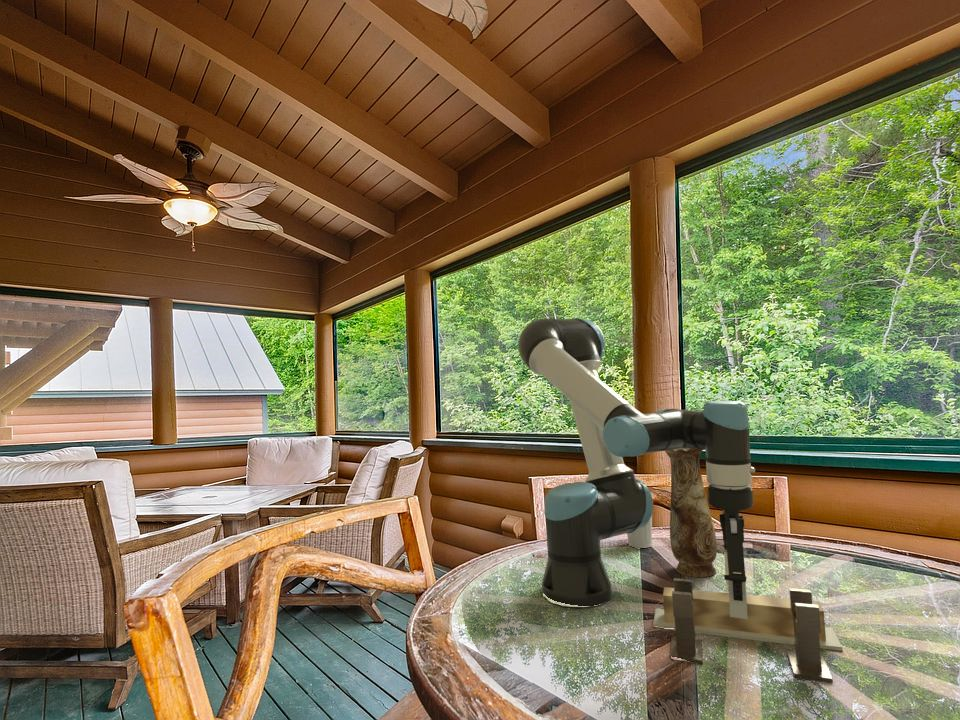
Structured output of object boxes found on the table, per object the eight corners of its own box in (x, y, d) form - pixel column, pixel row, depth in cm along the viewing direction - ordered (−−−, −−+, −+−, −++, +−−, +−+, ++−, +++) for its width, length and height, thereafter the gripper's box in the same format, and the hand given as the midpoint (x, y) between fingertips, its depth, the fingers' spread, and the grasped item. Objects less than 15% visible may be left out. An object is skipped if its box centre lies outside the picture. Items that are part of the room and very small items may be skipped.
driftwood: (783, 557, 131) (782, 549, 131) (775, 566, 126) (775, 557, 126) (699, 544, 145) (699, 536, 145) (690, 551, 140) (689, 543, 140)
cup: (640, 552, 139) (636, 506, 140) (619, 544, 147) (616, 501, 147) (661, 546, 143) (658, 501, 144) (640, 538, 150) (637, 496, 151)
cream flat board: (653, 627, 98) (653, 624, 98) (656, 611, 105) (655, 608, 105) (842, 650, 87) (842, 647, 87) (832, 631, 93) (832, 627, 93)
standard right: (794, 677, 80) (788, 604, 81) (787, 654, 87) (782, 587, 87) (832, 682, 78) (826, 608, 79) (822, 659, 85) (817, 590, 85)
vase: (721, 580, 118) (711, 447, 119) (671, 577, 121) (662, 447, 122) (716, 563, 128) (707, 441, 129) (670, 561, 131) (661, 441, 132)
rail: (664, 622, 99) (663, 595, 99) (666, 612, 103) (664, 587, 103) (826, 641, 89) (823, 611, 89) (821, 630, 93) (818, 601, 93)
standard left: (670, 659, 87) (665, 592, 88) (672, 639, 94) (667, 577, 94) (702, 664, 85) (697, 595, 86) (702, 643, 92) (697, 580, 92)
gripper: (759, 503, 84) (767, 636, 83) (746, 471, 107) (752, 576, 106) (708, 500, 87) (715, 629, 86) (706, 470, 110) (711, 572, 109)
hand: (736, 600), depth 96 cm, fingers open, 13 cm apart
